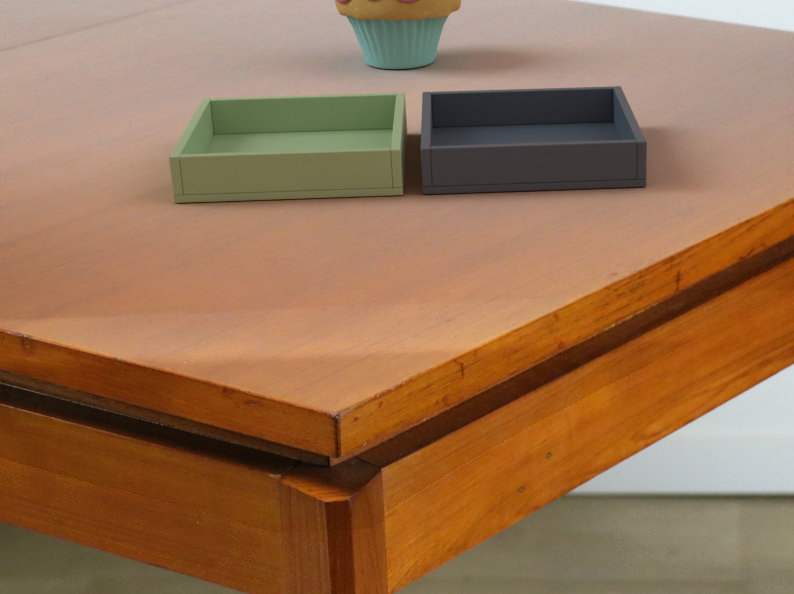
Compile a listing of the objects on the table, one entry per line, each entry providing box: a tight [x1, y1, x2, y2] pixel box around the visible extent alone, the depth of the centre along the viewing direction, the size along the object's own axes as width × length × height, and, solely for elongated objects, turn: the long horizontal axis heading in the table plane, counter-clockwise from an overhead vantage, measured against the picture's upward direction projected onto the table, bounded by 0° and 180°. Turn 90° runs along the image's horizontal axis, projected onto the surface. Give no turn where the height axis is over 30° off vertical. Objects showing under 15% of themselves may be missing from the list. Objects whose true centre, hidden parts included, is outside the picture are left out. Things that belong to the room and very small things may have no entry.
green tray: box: [168, 92, 408, 204], centre depth 82 cm, size 12×12×2 cm
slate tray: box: [420, 85, 648, 195], centre depth 83 cm, size 12×12×2 cm
